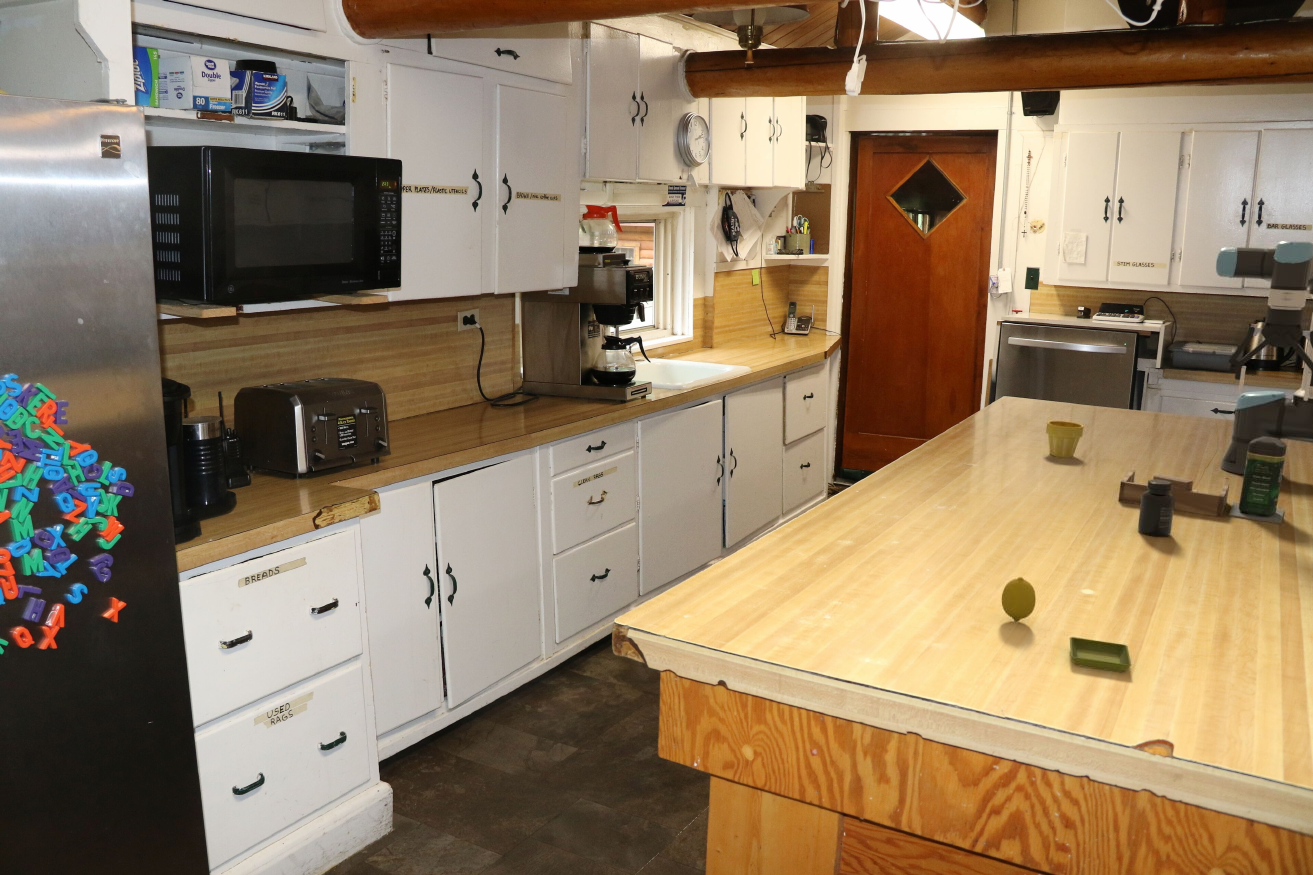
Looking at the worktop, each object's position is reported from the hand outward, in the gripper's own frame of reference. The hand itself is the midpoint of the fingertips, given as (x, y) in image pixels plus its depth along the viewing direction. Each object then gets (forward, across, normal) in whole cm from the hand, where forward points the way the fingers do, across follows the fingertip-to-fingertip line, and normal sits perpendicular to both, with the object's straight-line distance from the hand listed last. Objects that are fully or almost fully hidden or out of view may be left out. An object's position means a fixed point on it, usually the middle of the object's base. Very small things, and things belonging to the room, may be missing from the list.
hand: (1272, 396), depth 246 cm
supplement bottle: (+29, -18, -35) cm, 49 cm away
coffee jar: (+29, 0, -1) cm, 29 cm away
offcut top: (+24, -18, -6) cm, 31 cm away
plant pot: (+29, -53, +37) cm, 71 cm away
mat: (+29, 0, -1) cm, 29 cm away
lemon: (+28, -31, -109) cm, 117 cm away
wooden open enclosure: (+29, -18, -2) cm, 34 cm away
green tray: (+28, -16, -118) cm, 123 cm away
